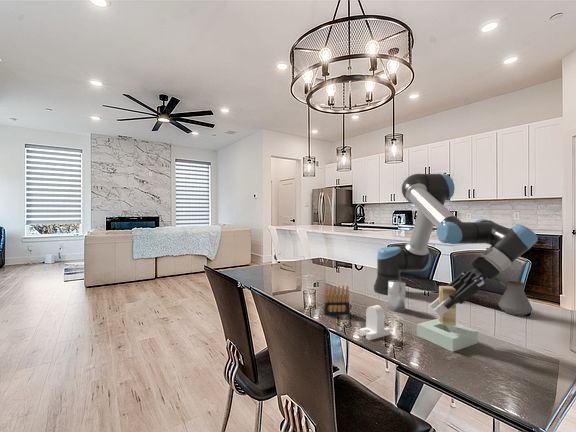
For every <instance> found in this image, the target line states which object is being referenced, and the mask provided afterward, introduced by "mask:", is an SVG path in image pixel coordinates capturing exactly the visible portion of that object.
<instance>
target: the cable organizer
mask: <svg viewBox="0 0 576 432" xmlns="http://www.w3.org/2000/svg"><path fill="white" fill-rule="evenodd" d="M365 312H366V313H365V314H366V315H365V327H362V328H361V327H360V328H359V331H358V332H359V336H361V337H364V336H365V339H366V340H368V341H372V340H375V339H379V338H382V337H386V336H389V335H391V333H390V332H391V329H390V327H388V326H386V327H385V317H386V316H385V315H386V314H385V310H384V309H383V308H382V306H381V305H379V304H376V305H372V306H371V305H370V306H368V307H367V308H366V311H365Z"/></svg>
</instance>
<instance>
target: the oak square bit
mask: <svg viewBox="0 0 576 432" xmlns="http://www.w3.org/2000/svg"><path fill="white" fill-rule="evenodd" d="M455 292H456V289H455V288H453V287H452V286H448V285H439V286H438V297H439V305H440V304H441V303H442V302H443V301H444V300H446V299H447V298H448V297H449V295H451V296H452V295H453V294H454V293H455ZM456 318H457V304H455V305H454V306H452V307H451V308H450V309H449V310H448V311H446V312H445V313H444V314H443V315H442V316H440V315H439V314H438V319H439V321H440V323H441V324H442V325H451V326H456V323H457V319H456Z"/></svg>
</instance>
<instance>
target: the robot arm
mask: <svg viewBox="0 0 576 432" xmlns="http://www.w3.org/2000/svg"><path fill="white" fill-rule="evenodd" d="M401 193H402V196H403V197H404V199H405V200H406V201H407V202H409V203H411V204H413V205H414V206H415V207H416V208H417V209H418V210H417V214H416V216H415V217H416V219H415V221H414V225H413V228H412V232H411V236H410V239H409V242H407V243H405V247H404V249H402V248H401V247H399V246H386V247H385V246H384V247H381V248H379V249H378V250H377V257H376V259H377V260H376V261H377V264H376V266H377V267H376V268H377V273H376V274H377V275H376V279H375V283H374V284H373V291H374V292H375V293H377V294H378V293H379V294H381V295H382V294H383V295H387V296H388V281H389V280H400V281H402V279H401V272H424V271H426V270H428V269H429V268H430V266H431V264H432V259H431V258H432V255H431V254H432V253H431V252H430V250H429V248H428V244H429V241H430V238H431V236H432V235H431V234H432V233H433V229H434V227H435V228H436V236H437V239H438V240H439V242H441V243H443V244H450V245H461V244H463V245H465V244H471V245H472V244H474V245H475V244H480V245H481V244H486V245H487V244H488V245H489V247H486V248H485V251H484V252H482V253H481V254H480V255H481V256H478V257H476V258H475V259H474V260H472V261H471V264H470V265H471V266H472V267H473V268H472V269H470V270H468V271H466V270H462V271H461V272H460V274H459V275H458V276H456V277H455V278H454V279H453V280H452V281H451V282H450V283H449V284H447V286H452V287H453V288H455V289H456V292H455V293H454V294H453V295H452V296H451V295H449V297H448V298H447V299H446V300H444V301H443V302H442V303H441V304H440V305H439V296H438V297H437V298H436V299H435V300H434V301H433V302H431V303H430V304H429V306H430V307H431V308H432V309H433V311H434V312H435V313H436V314H437V315H438V316H439V315H440V316H442V315H443V314H444V313H445V312H446V311H448V310H449V309H450V308H451V307H452V306H454V305H455V304H456V305H457V304H460V305H462V304H464V303H465V302H466V301H467V300H468V299H470V298H471V297H472V296H473V295H475V294H476V293H477V292H478V291H479V290H481V289H483V288H485V287H486V286H487V284H486V282H485V281H486V280H489V281H492V280H495V279H494V278H495V277H496V278H497V277H498V275H499V274H500V272H503V271H505V270H506V269H507V268H508V267H510V266H511V265H512V264H513V263H514V262H515V261H516V260H517V259H518V258H520V257H521V256H522V255H524V253H526V252H527V251H529V250H530V249H531V248H532V247H533V246H534V245H535V244H536V243H537V242H538V241H539V240H538V239H539V238H538V235H537V234H536V233H535V232H534V231H533V230H531V228H529V227H528V226H525V225H523V224H521V223H520V224H515V225H514V226H511V228H509V227H506V226H504V225H501V224H499V223H496V222H494V221H493V220H491V219H490V220H489V219H485V218H480V219H478V220H475V221H469V222H467V221H466V222H465V221H462V220H460V219H459V218H458V217H457V216H456V215H455V214H453V212H451V211H450V210H449V209H448V208H446V206H445V202H446V200H448V199H451V198H452V197H453V196H454V194H455V184H454V180H453V178H452V177H451V176H450V175H448V174H446V173H445V174H443V173H415V174H411V175H410V176H408V177H406V179H404V181H403V183H402V184H401Z"/></svg>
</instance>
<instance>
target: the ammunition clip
mask: <svg viewBox="0 0 576 432" xmlns="http://www.w3.org/2000/svg"><path fill="white" fill-rule="evenodd" d="M332 287H333V289H332ZM349 291H350V290H349V286H348V284H347V285H346V287H345V285H342V286H340V285H338V286H336V285H334V286H332V285H329V289H328V286H327V285H325V289H324V296H323V297H324V300H323V301H324V302H323V315H324V316H329V315H330V316H331V315H333V316H336V315H337V316H339V315H343V316H344V315H351V313H350V312H351V309H350V307H351V306H350V292H349Z"/></svg>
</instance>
